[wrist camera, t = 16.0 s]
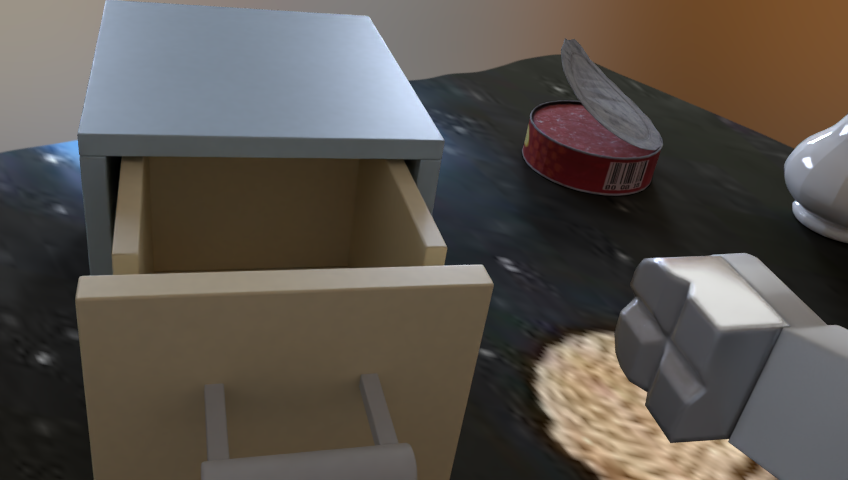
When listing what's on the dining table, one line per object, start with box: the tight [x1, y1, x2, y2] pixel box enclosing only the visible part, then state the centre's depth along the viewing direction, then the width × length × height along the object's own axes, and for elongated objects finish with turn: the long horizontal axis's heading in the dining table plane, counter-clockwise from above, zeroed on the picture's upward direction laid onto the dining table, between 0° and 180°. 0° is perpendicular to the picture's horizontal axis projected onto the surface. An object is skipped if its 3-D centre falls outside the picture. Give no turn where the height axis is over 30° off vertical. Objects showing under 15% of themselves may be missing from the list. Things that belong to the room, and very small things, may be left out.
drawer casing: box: [77, 0, 444, 276], centre depth 40 cm, size 16×14×12 cm
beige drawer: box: [75, 156, 494, 480], centre depth 31 cm, size 19×13×10 cm, turn 15°
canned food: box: [522, 39, 663, 196], centre depth 60 cm, size 11×10×10 cm
